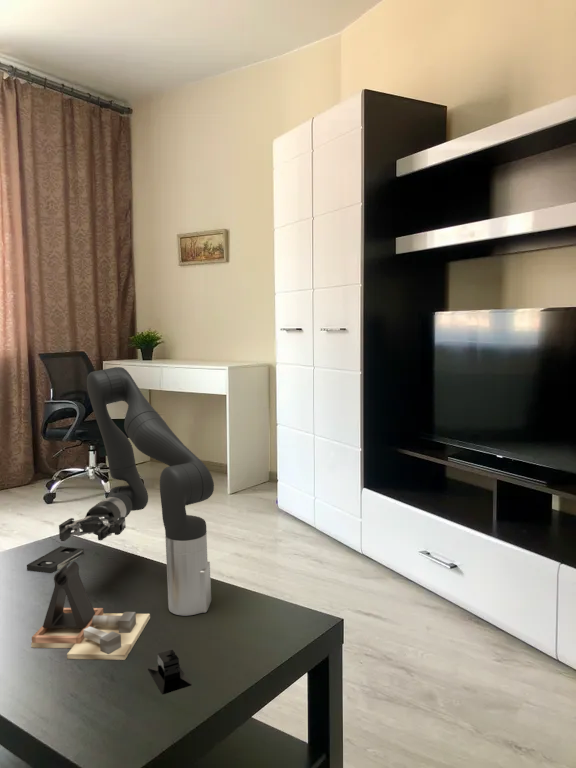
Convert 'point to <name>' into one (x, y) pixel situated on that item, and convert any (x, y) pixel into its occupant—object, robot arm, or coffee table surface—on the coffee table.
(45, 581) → the coffee table surface
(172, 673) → the black slotted box
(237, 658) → the coffee table surface
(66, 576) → the phone stand
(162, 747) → the coffee table surface
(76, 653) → the stand
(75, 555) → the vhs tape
